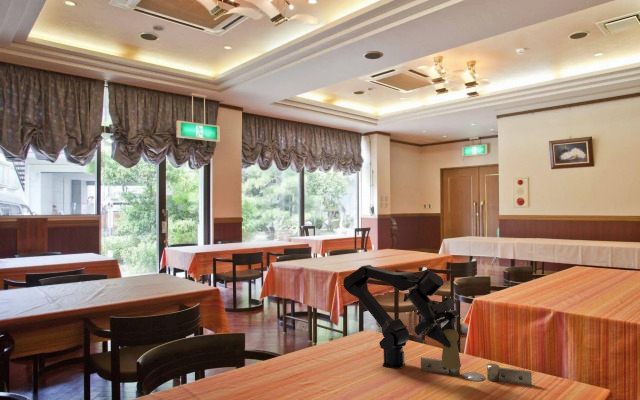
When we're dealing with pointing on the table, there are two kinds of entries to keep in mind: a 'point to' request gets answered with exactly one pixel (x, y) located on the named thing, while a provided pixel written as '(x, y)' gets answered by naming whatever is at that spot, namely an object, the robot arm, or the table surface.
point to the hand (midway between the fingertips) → (454, 345)
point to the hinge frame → (493, 373)
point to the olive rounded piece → (451, 350)
